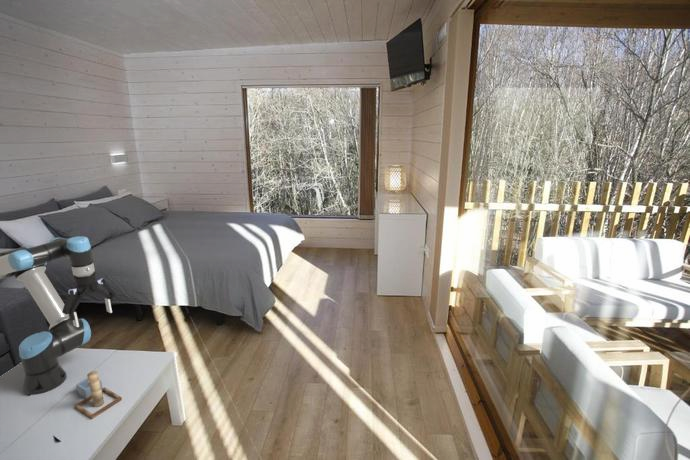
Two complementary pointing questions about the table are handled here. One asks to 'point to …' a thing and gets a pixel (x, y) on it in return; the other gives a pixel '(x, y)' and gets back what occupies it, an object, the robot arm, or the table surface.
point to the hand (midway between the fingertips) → (93, 318)
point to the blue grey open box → (85, 388)
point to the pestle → (95, 389)
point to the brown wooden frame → (117, 399)
